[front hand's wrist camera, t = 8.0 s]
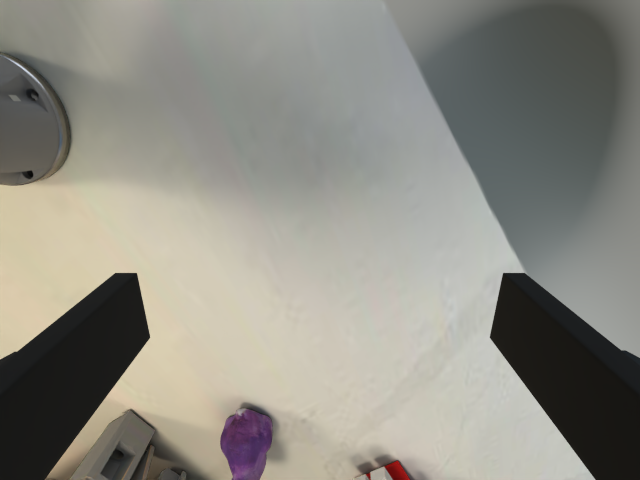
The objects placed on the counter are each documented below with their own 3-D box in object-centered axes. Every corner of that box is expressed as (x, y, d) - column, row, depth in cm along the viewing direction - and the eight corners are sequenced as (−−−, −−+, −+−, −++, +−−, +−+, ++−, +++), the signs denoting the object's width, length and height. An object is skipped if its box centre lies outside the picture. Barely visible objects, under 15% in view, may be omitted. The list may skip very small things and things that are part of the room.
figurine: (265, 456, 63) (250, 556, 49) (215, 433, 61) (183, 531, 47) (292, 423, 60) (284, 519, 46) (240, 398, 58) (215, 491, 44)
